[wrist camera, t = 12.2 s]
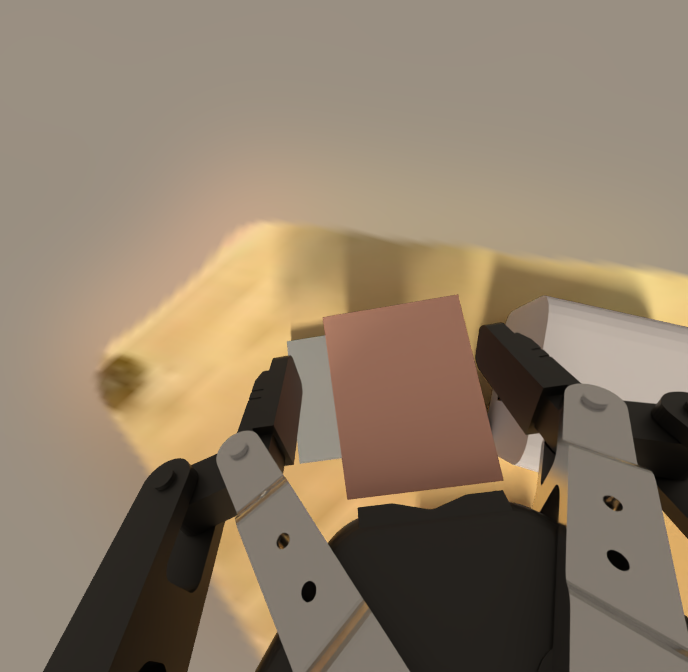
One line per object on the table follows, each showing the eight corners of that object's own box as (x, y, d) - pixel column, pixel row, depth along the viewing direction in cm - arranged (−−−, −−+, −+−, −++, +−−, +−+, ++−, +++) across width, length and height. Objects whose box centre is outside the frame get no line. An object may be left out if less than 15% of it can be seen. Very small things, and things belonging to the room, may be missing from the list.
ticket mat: (456, 317, 18) (461, 313, 17) (484, 435, 17) (491, 438, 16) (290, 343, 19) (286, 341, 18) (303, 459, 18) (299, 463, 17)
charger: (748, 528, 15) (479, 446, 17) (753, 372, 16) (505, 313, 18) (920, 593, 10) (521, 469, 12) (908, 367, 12) (551, 290, 14)
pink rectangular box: (407, 344, 17) (459, 292, 8) (423, 423, 16) (506, 482, 7) (347, 353, 18) (320, 315, 8) (358, 432, 17) (345, 502, 7)
